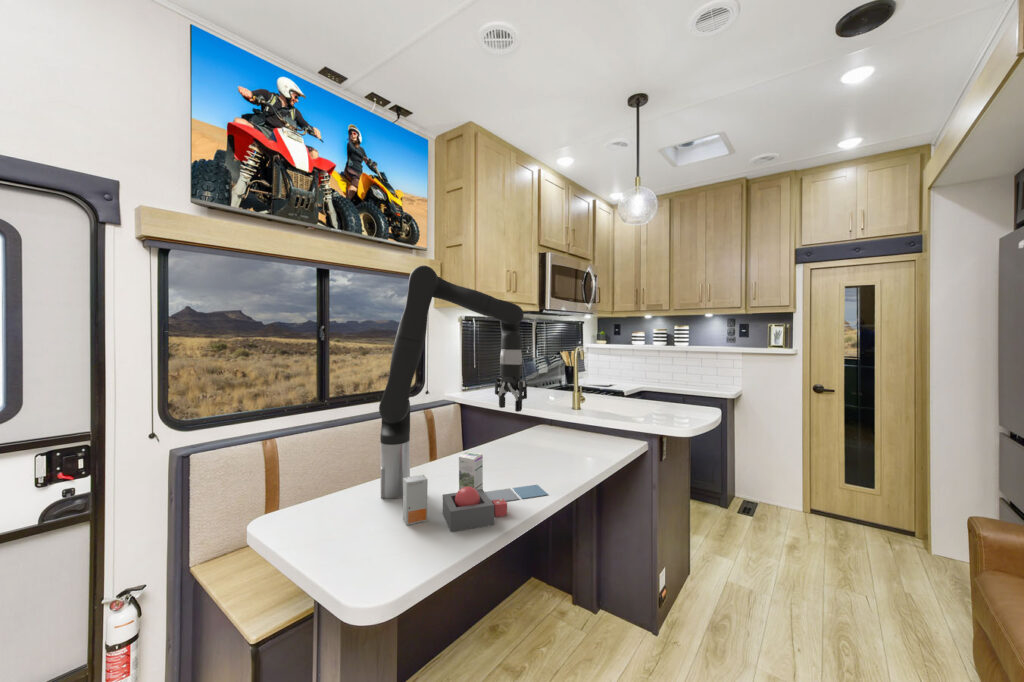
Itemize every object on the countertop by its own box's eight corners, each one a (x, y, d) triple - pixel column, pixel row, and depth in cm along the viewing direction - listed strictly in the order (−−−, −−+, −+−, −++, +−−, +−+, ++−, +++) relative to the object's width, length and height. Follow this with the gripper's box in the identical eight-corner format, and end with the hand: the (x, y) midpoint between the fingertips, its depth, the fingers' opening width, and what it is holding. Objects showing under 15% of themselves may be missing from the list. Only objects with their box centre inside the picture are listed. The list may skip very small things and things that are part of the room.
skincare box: (406, 526, 110) (405, 482, 110) (402, 519, 114) (402, 477, 114) (428, 521, 113) (427, 478, 113) (424, 515, 117) (423, 474, 117)
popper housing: (450, 532, 107) (450, 511, 107) (442, 513, 118) (442, 494, 118) (512, 521, 113) (512, 502, 113) (498, 504, 124) (498, 486, 124)
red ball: (457, 519, 110) (457, 493, 110) (452, 508, 117) (452, 484, 117) (482, 515, 112) (482, 490, 112) (476, 505, 119) (476, 481, 119)
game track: (458, 508, 121) (458, 507, 121) (452, 497, 130) (452, 496, 130) (548, 495, 131) (548, 494, 131) (537, 485, 140) (537, 484, 140)
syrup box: (483, 498, 129) (483, 453, 128) (474, 505, 123) (474, 458, 123) (468, 495, 131) (468, 451, 131) (458, 502, 126) (458, 456, 125)
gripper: (489, 361, 143) (488, 407, 143) (516, 364, 132) (515, 414, 132) (505, 361, 147) (505, 405, 148) (533, 363, 137) (532, 411, 137)
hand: (510, 409), depth 140 cm, fingers open, 8 cm apart
